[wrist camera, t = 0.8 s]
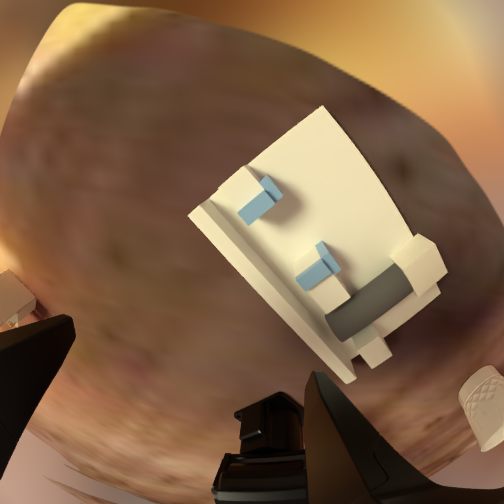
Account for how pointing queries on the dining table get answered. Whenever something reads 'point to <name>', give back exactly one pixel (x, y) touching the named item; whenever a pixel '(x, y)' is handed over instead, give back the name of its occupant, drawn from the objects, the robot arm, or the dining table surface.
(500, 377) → the white cup
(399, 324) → the backplate with stepped blocks
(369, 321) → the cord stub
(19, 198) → the dining table surface
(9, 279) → the architectural model
